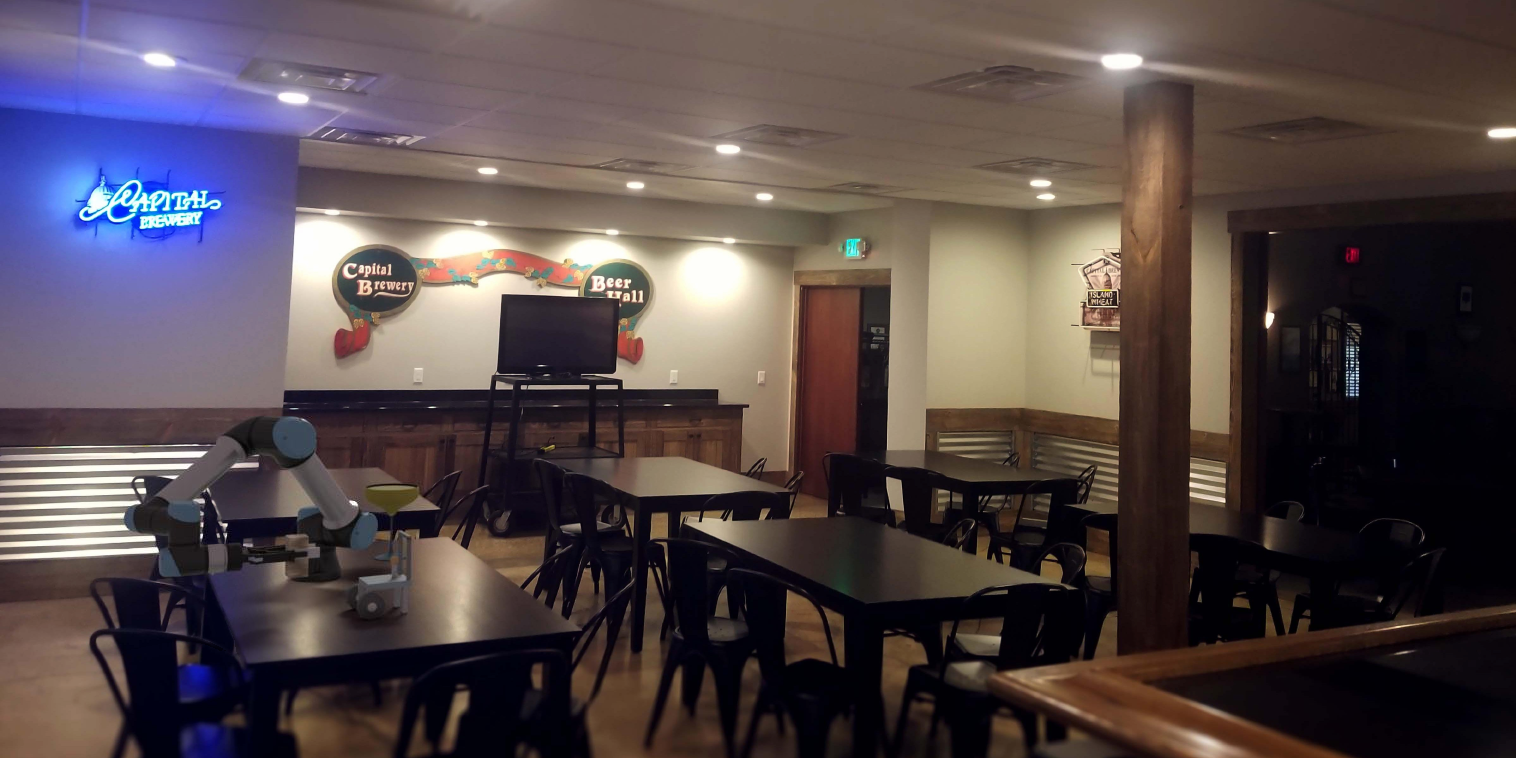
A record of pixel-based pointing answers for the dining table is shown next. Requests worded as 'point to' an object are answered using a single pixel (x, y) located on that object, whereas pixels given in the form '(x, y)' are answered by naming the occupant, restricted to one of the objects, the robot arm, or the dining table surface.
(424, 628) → the dining table surface
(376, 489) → the cocktail glass
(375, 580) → the trolley
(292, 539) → the block
